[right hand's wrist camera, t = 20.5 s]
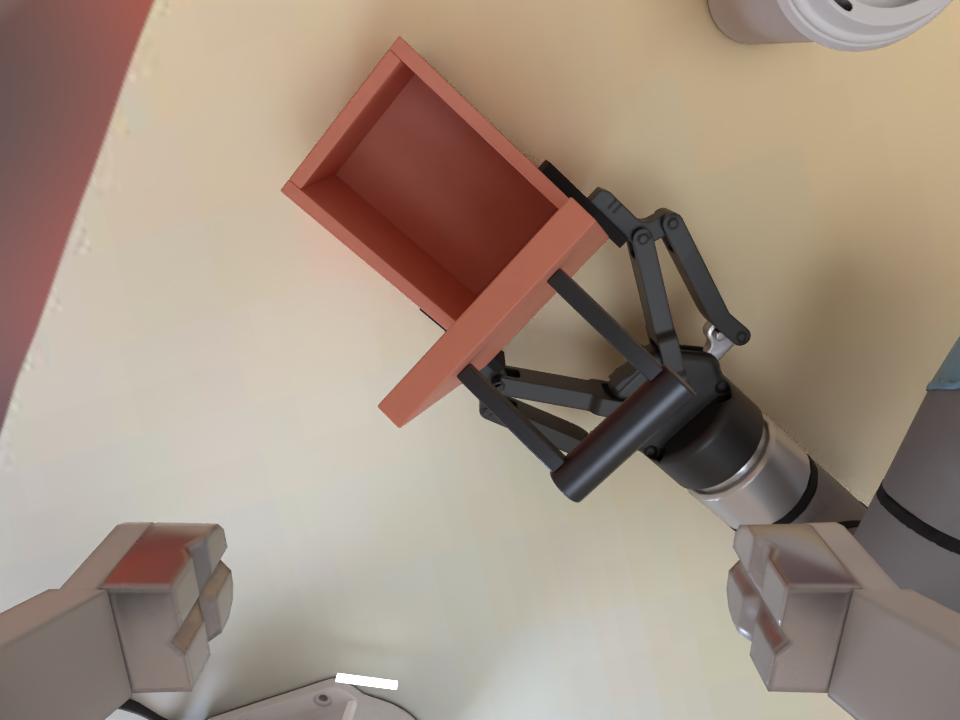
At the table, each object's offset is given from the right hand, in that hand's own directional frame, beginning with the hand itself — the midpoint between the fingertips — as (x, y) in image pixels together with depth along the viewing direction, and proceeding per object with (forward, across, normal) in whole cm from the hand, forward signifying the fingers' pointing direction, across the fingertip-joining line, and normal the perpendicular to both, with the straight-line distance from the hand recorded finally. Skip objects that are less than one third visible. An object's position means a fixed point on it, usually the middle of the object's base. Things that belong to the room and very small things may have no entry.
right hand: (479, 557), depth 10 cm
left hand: (+32, 0, 0) cm, 32 cm away
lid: (+20, -1, +1) cm, 20 cm away
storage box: (+38, +2, -2) cm, 38 cm away
